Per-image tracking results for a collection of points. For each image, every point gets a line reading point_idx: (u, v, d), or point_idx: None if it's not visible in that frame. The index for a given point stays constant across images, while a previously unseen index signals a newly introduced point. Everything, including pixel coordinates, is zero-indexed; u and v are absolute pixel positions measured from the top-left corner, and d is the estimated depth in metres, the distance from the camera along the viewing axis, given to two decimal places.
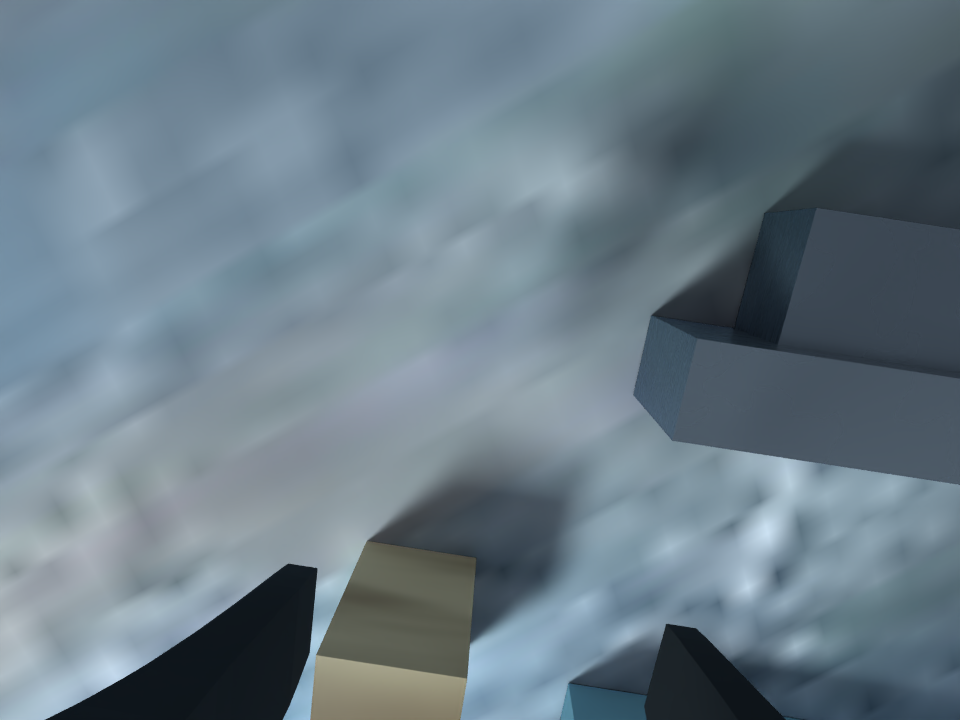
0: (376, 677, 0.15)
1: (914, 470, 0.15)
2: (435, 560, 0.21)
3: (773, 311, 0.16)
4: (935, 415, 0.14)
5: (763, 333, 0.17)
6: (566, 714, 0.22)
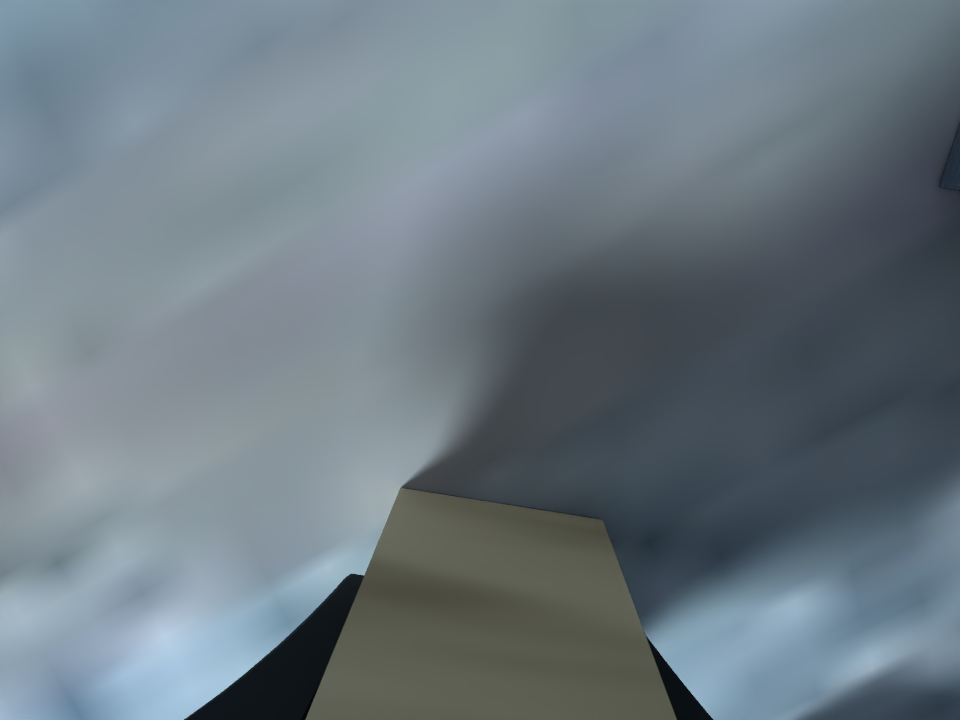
0: None
1: None
2: (532, 522, 0.11)
3: None
4: None
5: None
6: None
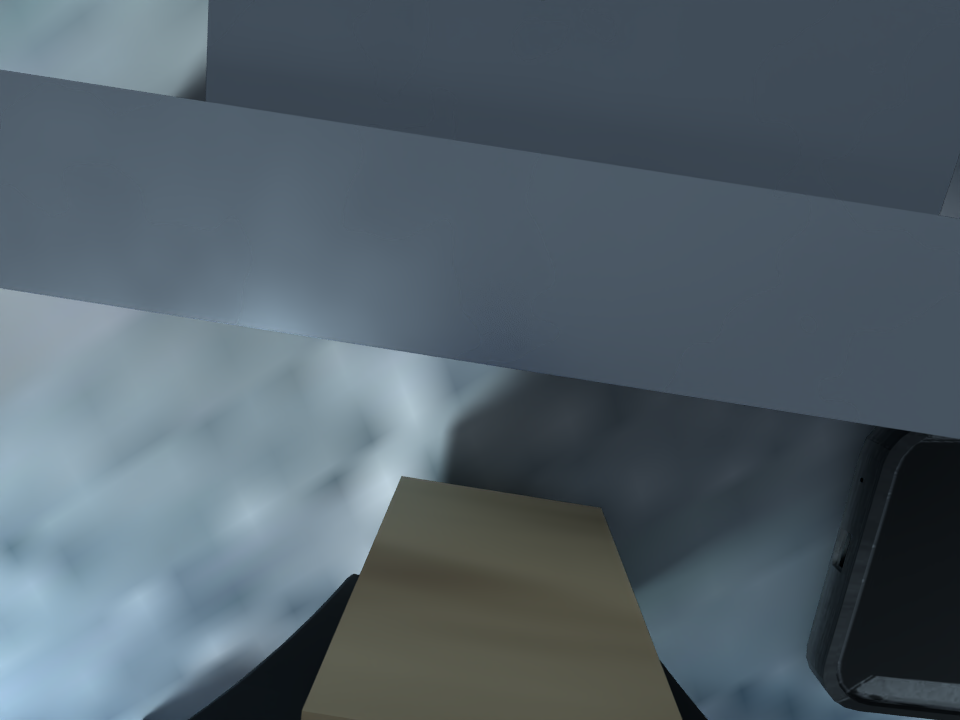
0: None
1: (404, 337, 0.08)
2: (531, 510, 0.11)
3: None
4: (421, 220, 0.07)
5: None
6: None
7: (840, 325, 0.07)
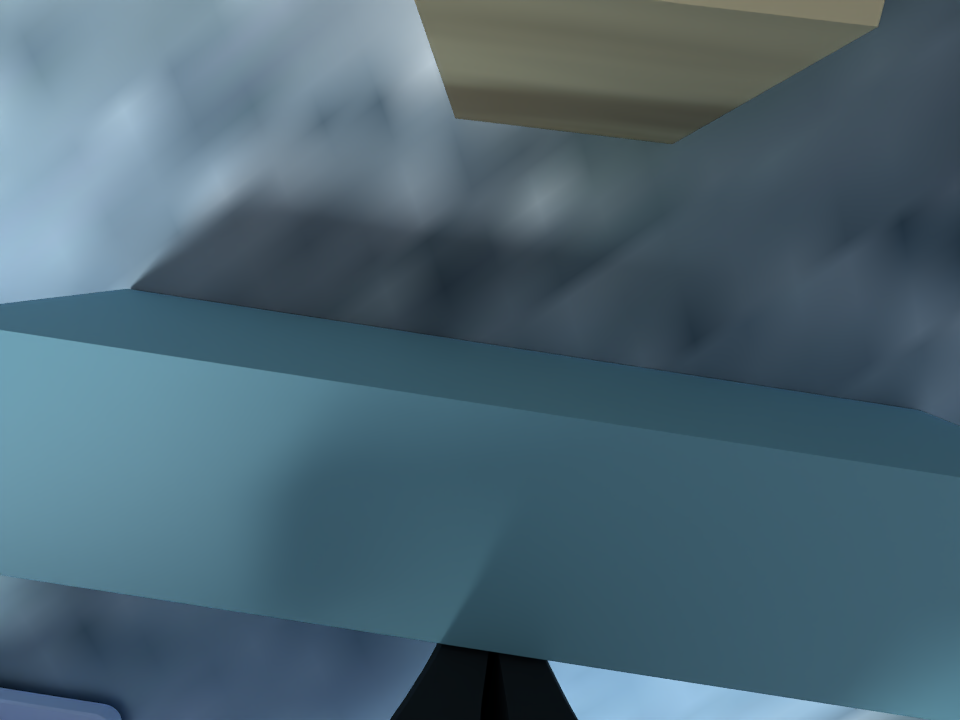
0: None
1: None
2: None
3: None
4: None
5: None
6: None
7: None
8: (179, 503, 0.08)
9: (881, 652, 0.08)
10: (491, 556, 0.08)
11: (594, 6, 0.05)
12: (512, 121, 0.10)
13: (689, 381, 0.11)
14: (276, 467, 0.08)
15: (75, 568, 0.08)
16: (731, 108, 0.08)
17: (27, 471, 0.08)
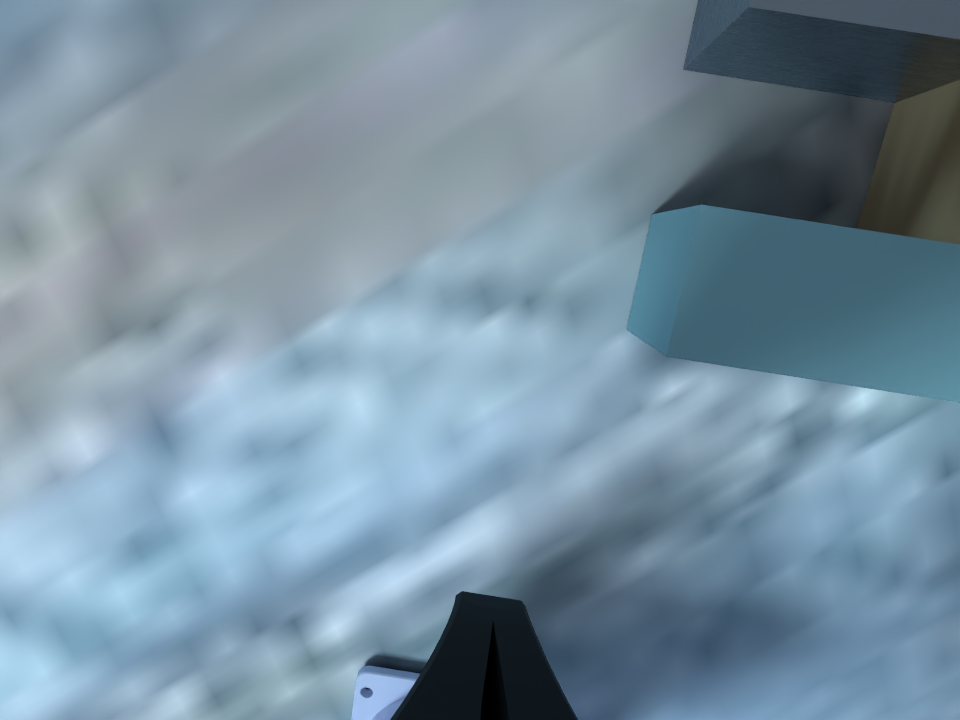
0: None
1: None
2: None
3: None
4: None
5: None
6: (651, 241, 0.17)
7: None
8: (829, 316, 0.14)
9: None
10: None
11: None
12: None
13: None
14: (893, 293, 0.14)
15: (754, 358, 0.14)
16: None
17: (743, 297, 0.14)
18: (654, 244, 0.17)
